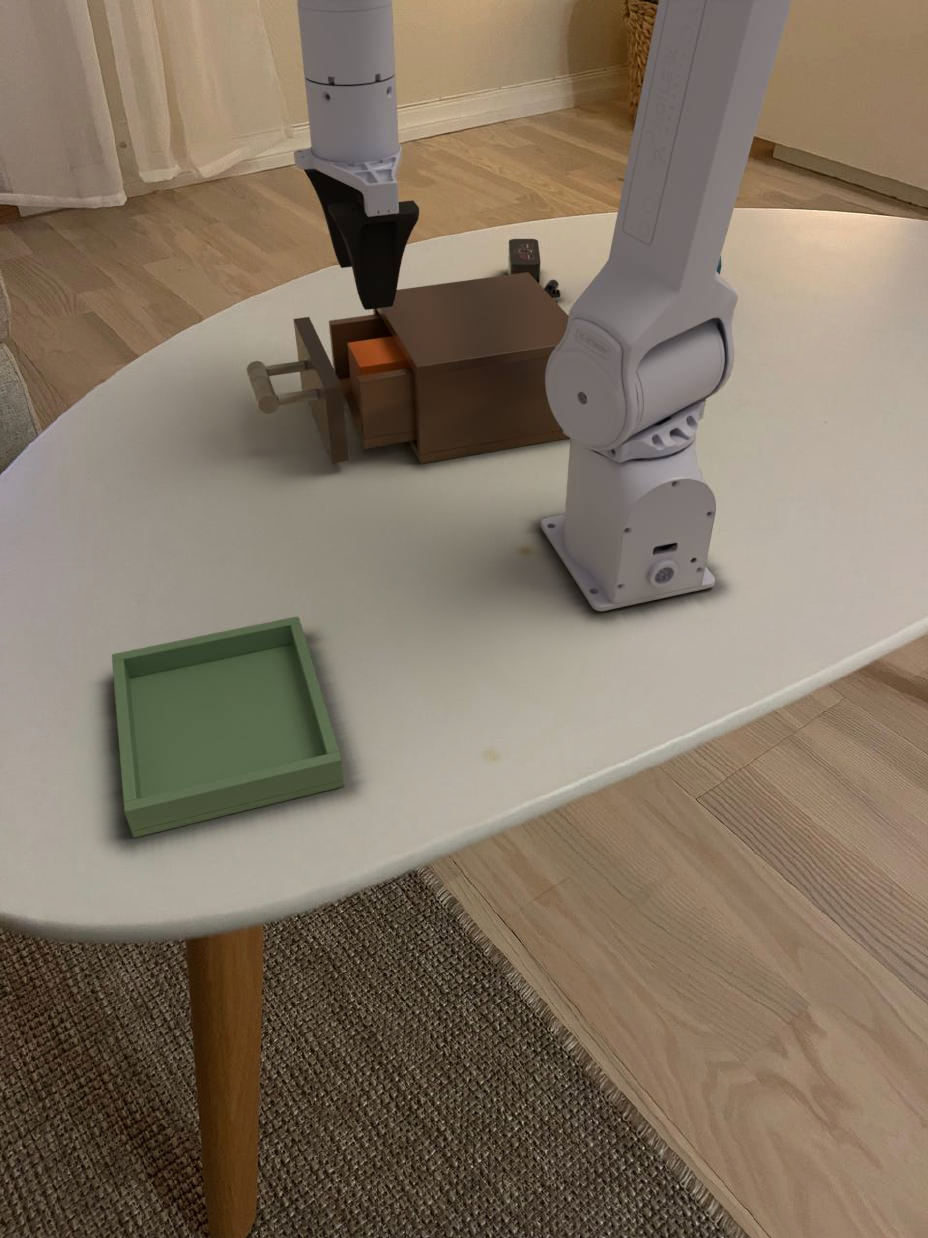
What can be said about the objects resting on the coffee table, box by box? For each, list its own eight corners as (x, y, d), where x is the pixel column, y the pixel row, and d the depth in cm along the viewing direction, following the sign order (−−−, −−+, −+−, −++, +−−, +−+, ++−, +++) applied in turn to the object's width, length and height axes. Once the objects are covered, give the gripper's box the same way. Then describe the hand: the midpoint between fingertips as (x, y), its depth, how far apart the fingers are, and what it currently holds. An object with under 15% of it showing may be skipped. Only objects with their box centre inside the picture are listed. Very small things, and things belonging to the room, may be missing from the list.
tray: (345, 786, 50) (341, 759, 49) (133, 838, 48) (124, 811, 47) (302, 641, 58) (298, 615, 57) (119, 680, 56) (111, 653, 55)
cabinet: (420, 464, 72) (416, 366, 68) (377, 383, 82) (371, 292, 77) (583, 435, 75) (591, 339, 70) (524, 361, 84) (528, 271, 79)
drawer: (272, 474, 70) (261, 398, 66) (248, 397, 78) (236, 326, 74) (488, 437, 74) (488, 363, 70) (442, 367, 82) (441, 298, 78)
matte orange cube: (429, 406, 75) (428, 356, 72) (363, 417, 74) (359, 366, 71) (415, 381, 78) (413, 332, 75) (351, 391, 76) (347, 342, 74)
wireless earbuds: (509, 302, 93) (510, 268, 91) (507, 271, 99) (508, 238, 96) (560, 302, 93) (562, 267, 91) (555, 271, 98) (557, 238, 96)
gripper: (268, 53, 68) (292, 254, 77) (308, 110, 58) (330, 334, 66) (370, 45, 70) (382, 243, 79) (428, 99, 59) (434, 320, 68)
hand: (365, 284), depth 73 cm, fingers open, 7 cm apart
